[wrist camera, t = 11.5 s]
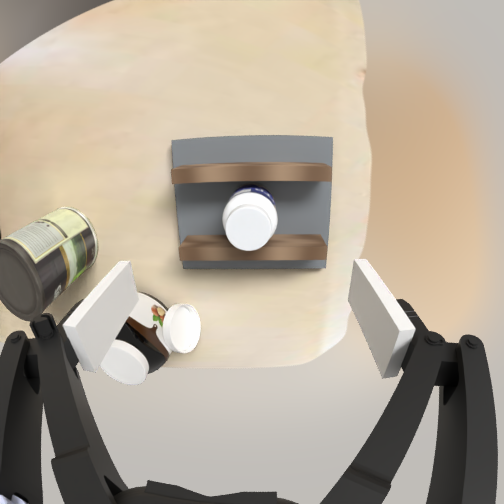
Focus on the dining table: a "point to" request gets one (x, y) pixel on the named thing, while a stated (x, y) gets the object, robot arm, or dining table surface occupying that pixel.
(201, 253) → the wooden rail pair
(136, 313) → the spread jar
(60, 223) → the coffee can
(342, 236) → the dining table surface
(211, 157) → the plate
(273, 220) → the pill bottle
